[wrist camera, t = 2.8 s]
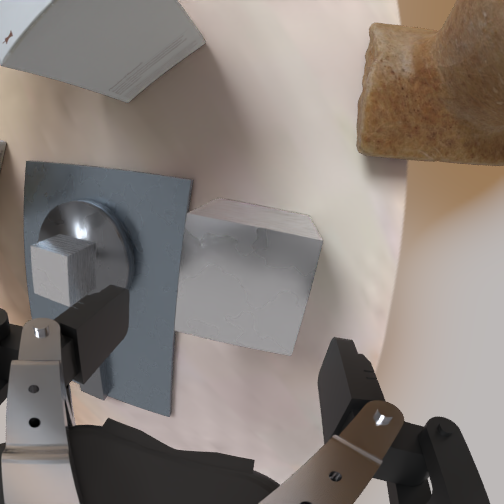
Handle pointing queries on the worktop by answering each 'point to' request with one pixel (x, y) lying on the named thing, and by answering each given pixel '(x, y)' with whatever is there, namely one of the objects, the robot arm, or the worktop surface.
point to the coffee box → (2, 151)
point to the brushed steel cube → (246, 274)
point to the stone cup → (436, 89)
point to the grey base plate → (110, 264)
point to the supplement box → (97, 41)
